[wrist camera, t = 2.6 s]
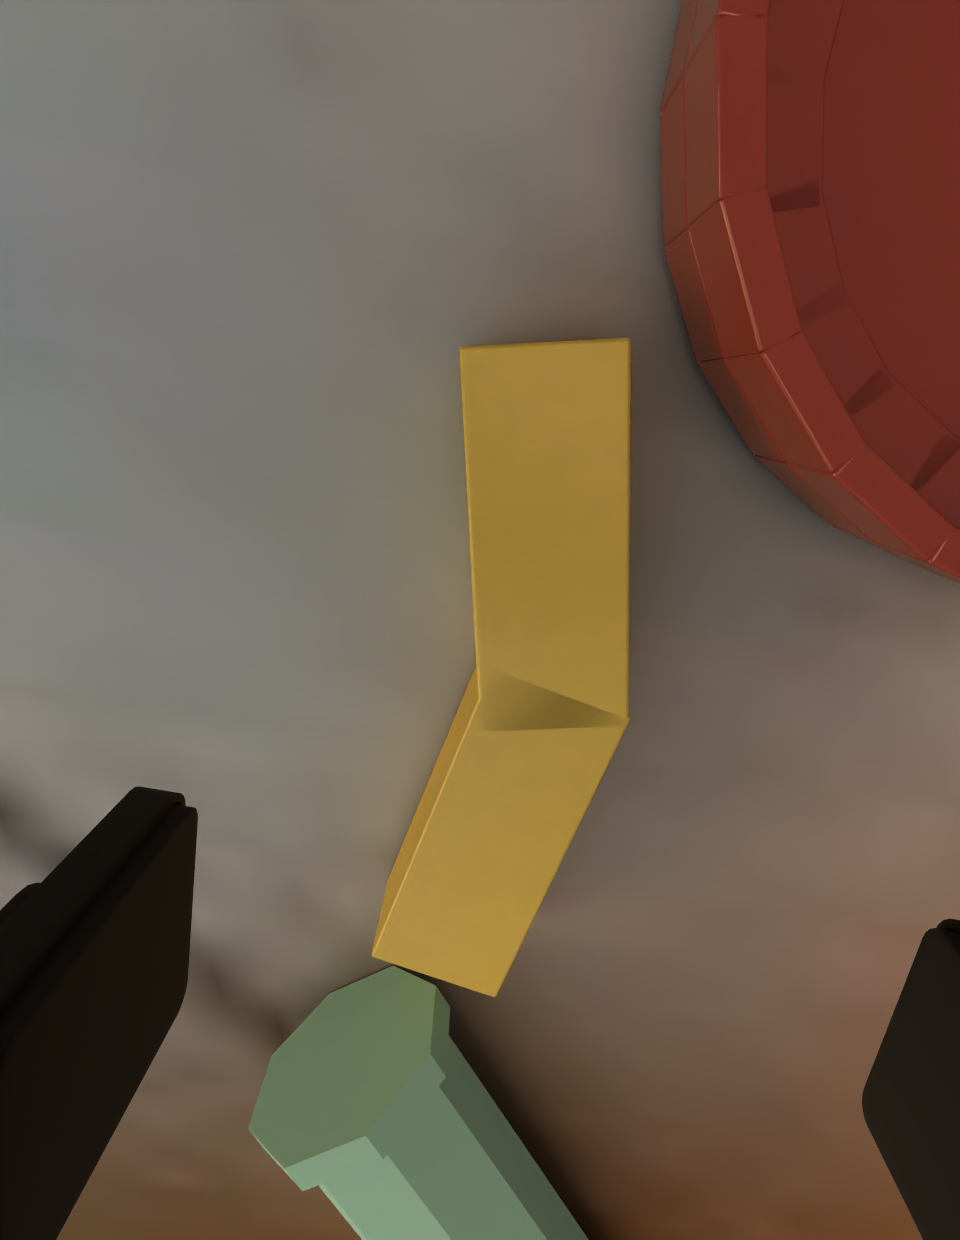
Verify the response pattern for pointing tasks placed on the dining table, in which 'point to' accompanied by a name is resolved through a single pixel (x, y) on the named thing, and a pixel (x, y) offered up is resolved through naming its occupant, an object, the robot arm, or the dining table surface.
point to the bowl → (826, 250)
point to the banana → (524, 656)
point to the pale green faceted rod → (400, 1123)
